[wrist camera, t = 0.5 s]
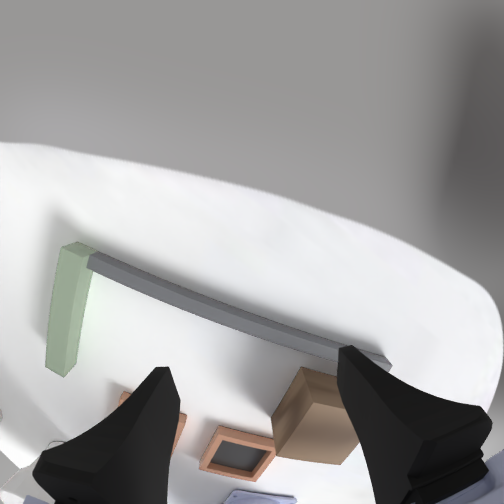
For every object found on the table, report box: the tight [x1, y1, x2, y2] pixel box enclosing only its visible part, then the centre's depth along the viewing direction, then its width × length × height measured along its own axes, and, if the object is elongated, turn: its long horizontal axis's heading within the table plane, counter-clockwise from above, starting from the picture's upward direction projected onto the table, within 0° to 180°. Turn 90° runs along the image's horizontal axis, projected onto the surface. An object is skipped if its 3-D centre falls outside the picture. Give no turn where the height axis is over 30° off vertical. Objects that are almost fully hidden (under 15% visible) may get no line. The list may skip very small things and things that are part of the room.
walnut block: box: [271, 367, 360, 465], centre depth 22 cm, size 6×6×5 cm
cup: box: [0, 442, 64, 504], centre depth 20 cm, size 12×12×11 cm
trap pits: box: [118, 391, 276, 482], centre depth 24 cm, size 6×15×1 cm, turn 68°
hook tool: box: [45, 242, 393, 377], centre depth 22 cm, size 11×27×2 cm, turn 68°
